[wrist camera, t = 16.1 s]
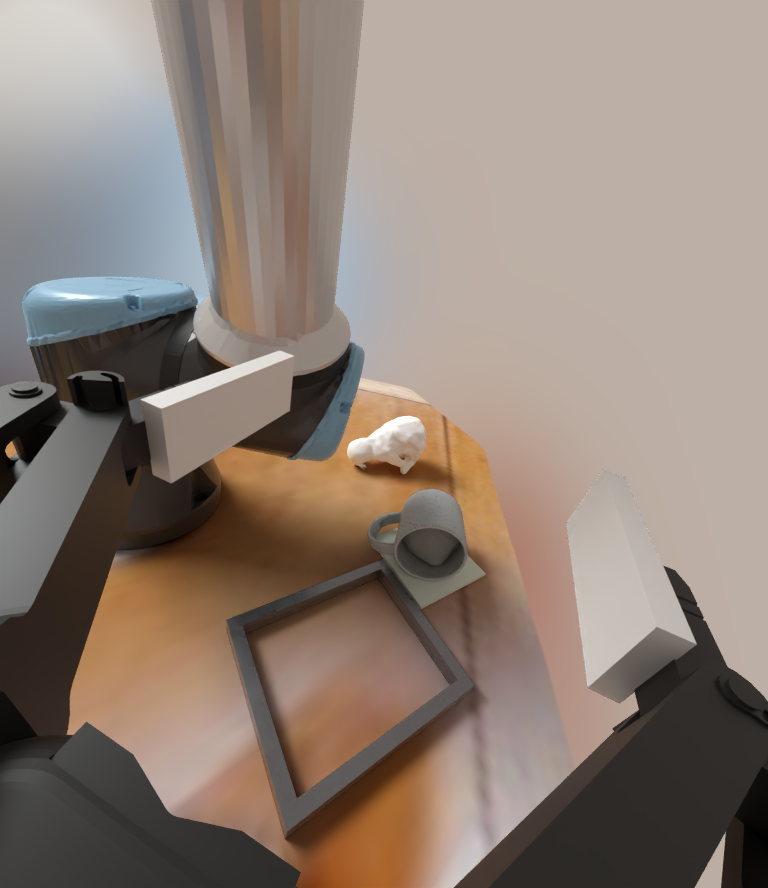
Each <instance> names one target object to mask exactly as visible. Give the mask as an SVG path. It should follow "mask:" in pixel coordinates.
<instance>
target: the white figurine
mask: <svg viewBox="0 0 768 888" xmlns="http://www.w3.org/2000/svg"><path fill="white" fill-rule="evenodd" d="M425 440H426V430H425V427H424V426H423V424H422V422H421V421H420V420H419V419H418V418H416V417H412V416H403V417H399V418H396V419H394V420H392V421H389V422H387V423H385V424H384V425H383V426H382V427H381V428H380V429H378V430H376V431H375V432H373V433H372V435H370V436H369V437H368V438H360V439H357V440H354V441H352V442H351V443H350V444H349V446H348V450H347V455H348V458H349V459H350V460H351V461H352V462H353V464H354V465H357V466H359V467H361V468H362V467H366V464H365V465H362V464H363V463H364V462H366V461H373V460H379V461H381V462H388V463H390V464H392V465H395V466H397V467H400V472H401V474H406V473H407V471H408V470H409V469H410V468H411V467H412V466H413V465H414V464H415V462H417V460H418V459H419V458H420V457H421V455H422V453H423V451H424V450H425V449H426V444H425ZM405 456H406V457H405ZM403 457H405V459H404V460H402V459H401V458H403ZM362 469H364V468H362ZM364 470H365V469H364Z"/></svg>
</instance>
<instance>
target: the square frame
mask: <svg viewBox="0 0 768 888" xmlns="http://www.w3.org/2000/svg"><path fill="white" fill-rule="evenodd" d="M377 578H378V579H379V580H380V582H381V583H382V585H383V586H384V588H385V589H386V591H387V592H388V594H389V595H390V597H391V598H392V600H393V601H394V603H395V604H396V606H397V607H398V609H399V610H400V612H401V613H402V614H403V616H404V617H405V619H406V620H407V622H408V623H409V625H410V626H411V628H412V629H413V631H414V632H415V634H416V635H417V637H418V638H419V640H420V641H421V643H422V644H423V646H424V647H425V649H426V650H427V652H428V653H429V655H430V656H431V658H432V659H433V661H434V662H435V664H436V665H437V667H438V668H439V670H440V671H441V672H442V674H443V675H444V677H445V678H446V680H447V681H448V683H449V684H450V686H449V687H447V688H446V689H445V690H443V691H442V692H441V693H439V694H438V695H437V696H435V697H434V698H433V699H431V700H430V701H429V702H427V703H426V704H424V705H423V706H422V707H420V708H419V709H418V710H416V711H415V712H414V713H412V714H411V715H410V716H408V717H407V718H405V719H404V720H403V721H401V722H400V723H399V724H397V725H396V726H395V727H393V728H392V729H391V730H389V731H388V732H387V733H385V734H384V735H382V736H381V737H380V738H378V739H377V740H376V741H374V742H373V743H372V744H370V745H369V746H368V747H366V748H365V749H363V750H362V751H361V752H359V753H358V754H357V755H355V756H354V757H353V758H351V759H350V760H349V761H347V762H346V763H345V764H343V765H342V766H340V767H339V768H338V769H336V770H335V771H334V772H332V773H331V774H330V775H328V776H327V777H326V778H324V779H323V780H321V781H320V782H319V783H317V784H316V785H315V786H313V787H312V788H311V789H309V790H308V791H307V792H305V793H304V794H302V795H301V796H300V797H298V798H297V797H296V794H295V791H294V787H293V784H292V781H291V778H290V775H289V772H288V768H287V765H286V762H285V759H284V756H283V753H282V749H281V746H280V743H279V740H278V737H277V734H276V730H275V727H274V724H273V721H272V718H271V714H270V711H269V708H268V705H267V702H266V699H265V695H264V692H263V689H262V686H261V683H260V680H259V676H258V673H257V670H256V667H255V664H254V660H253V657H252V654H251V651H250V648H249V645H248V641H247V638H246V635H245V634H247V633H249V632H251V631H254V630H256V629H258V628H261V627H263V626H265V625H268V624H270V623H273V622H275V621H277V620H280V619H282V618H284V617H287V616H289V615H292V614H294V613H296V612H299V611H301V610H303V609H306V608H308V607H311V606H313V605H315V604H318V603H320V602H322V601H325V600H327V599H329V598H332V597H334V596H337V595H339V594H341V593H344V592H346V591H348V590H351V589H353V588H356V587H358V586H360V585H363V584H365V583H367V582H370V581H372V580H374V579H377ZM227 633H228V637H229V640H230V644H231V647H232V651H233V654H234V658H235V662H236V665H237V669H238V672H239V676H240V680H241V683H242V687H243V690H244V694H245V698H246V701H247V705H248V708H249V712H250V716H251V719H252V723H253V726H254V730H255V733H256V737H257V741H258V744H259V748H260V751H261V755H262V759H263V762H264V766H265V769H266V773H267V777H268V780H269V784H270V787H271V791H272V794H273V798H274V802H275V805H276V809H277V812H278V816H279V820H280V823H281V827H282V830H283V834H284V838H287V837H288V836H289V835H290V834H292V833H293V832H294V831H296V830H297V829H298V828H299V827H301V826H302V825H303V824H304V823H306V822H307V821H308V820H309V819H311V818H312V817H313V816H314V815H316V814H317V813H318V812H320V811H321V810H322V809H323V808H325V807H326V806H327V805H328V804H330V803H331V802H332V801H333V800H335V799H336V798H337V797H339V796H340V795H341V794H342V793H344V792H345V791H346V790H347V789H349V788H350V787H351V786H352V785H354V784H355V783H356V782H358V781H359V780H360V779H361V778H363V777H364V776H365V775H366V774H368V773H369V772H370V771H371V770H373V769H374V768H375V767H377V766H378V765H379V764H380V763H382V762H383V761H384V760H385V759H387V758H388V757H389V756H390V755H392V754H393V753H394V752H395V751H397V750H398V749H399V748H401V747H402V746H403V745H404V744H406V743H407V742H408V741H409V740H411V739H412V738H413V737H414V736H416V735H417V734H418V733H420V732H421V731H422V730H423V729H425V728H426V727H427V726H428V725H430V724H431V723H432V722H433V721H435V720H436V719H437V718H439V717H440V716H441V715H442V714H444V713H445V712H446V711H447V710H449V709H450V708H451V707H452V706H454V705H455V704H456V703H457V702H459V701H460V700H461V699H463V698H464V697H465V696H466V695H468V694H469V692H470V691H471V690H472V688H473V687H474V684H473V683H472V681H471V680H470V678H469V677H468V676H467V674H466V673H465V671H464V670H463V669H462V667H461V666H460V664H459V663H458V662H457V660H456V659H455V658H454V656H453V655H452V653H451V652H450V651H449V649H448V648H447V646H446V645H445V644H444V642H443V641H442V639H441V638H440V637H439V635H438V634H437V632H436V631H435V630H434V628H433V627H432V625H431V624H430V623H429V621H428V620H427V619H426V617H425V616H424V614H423V613H422V612H421V610H420V609H419V607H418V606H417V605H416V603H415V602H414V600H413V599H412V598H411V596H410V595H409V593H408V592H407V591H406V589H405V588H404V587H403V585H402V584H401V582H400V581H399V580H398V578H397V577H396V575H395V574H394V573H393V571H392V570H391V568H390V567H389V566H388V564H387V563H386V561H385V560H384V559H382V560H379V561H377V562H374V563H371V564H369V565H366V566H364V567H361V568H359V569H356V570H353V571H351V572H348V573H346V574H343V575H341V576H338V577H335V578H333V579H330V580H328V581H325V582H323V583H320V584H317V585H315V586H312V587H310V588H307V589H305V590H302V591H299V592H297V593H294V594H292V595H289V596H287V597H284V598H281V599H279V600H276V601H274V602H271V603H269V604H266V605H263V606H261V607H258V608H256V609H253V610H251V611H248V612H245V613H243V614H240V615H238V616H235V617H232V618H230V619H227Z"/></svg>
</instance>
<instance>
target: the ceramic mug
mask: <svg viewBox="0 0 768 888" xmlns="http://www.w3.org/2000/svg"><path fill="white" fill-rule="evenodd" d="M392 523H399V527H398V530H397V535H396V539H395V542H394V543H386V542H381V541H378V540H376V539H375V538H376V535H377V533H378V532H379V531H380V528H382V527H383V526H386V525H388V524H392ZM368 538H369V542H370V545H371V547H372V548H373V549H374V550H375V551H377V552H379V553H382V554H387V555H394V557H395V560H396V562H397V564H398V565H399V566H400V567H401V569H403V570H404V571H405V572H406V573H408V574H410V575H411V576H413V577H416V578H418V579H422V580H427V581H439V580H445V579H448V578H450V577H452V576H454V575H455V574H457V573H458V572H459V571H460V570H461V569H462V568H463V567H464V565H465V563H466V560H467V556H468V550H467V543H466V536H465V529H464V523H463V515H462V511H461V509H460V506H459V504H458V502H457V501H456V499H455V498H454V497H453V496H452V495H450V494H449V493H447V492H445V491H443V490H440V489H435V488H428V489H422V490H419V491H417V492H415V493H414V494H412V495H411V496H410V497H409V498H408V500H407V501H406V503H405V505H404V507H403V510H402V512H394V513H388V514H384V515H382V516H380V517H378V518H377V519H376V520H374V521H373V522H372V524H371V525H370V527H369V530H368Z"/></svg>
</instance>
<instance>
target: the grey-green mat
mask: <svg viewBox="0 0 768 888" xmlns="http://www.w3.org/2000/svg"><path fill="white" fill-rule="evenodd" d="M397 530H398V528H396V529H393V530H390V531H388V532H385V533H382V534H379V535H376V538H375V539H376V540H378V541H381V542H386V543H394V542H395V539H396V535H397ZM380 555H381V556H382V557H383V559H384V560H385V561H386V563H387V564H388V566H389V567H390V568H391V570H392V571H393V573H394V574H395V575H396V577H397V578H398V580H399V581H400V582H401V584H402V585H403V587H404V588H405V589H406V591H407V592H408V593H409V595H410V596H411V598H412V599H413V600H414V602H415V603H416V605H417V606H418V607H419V609H420V610H421V609H423V608H425V607H426V606H428V605H430V604H432V603H434V602H436V601H438V600H440V599H442V598H443V597H445V596H447V595H449V594H451V593H453V592H455V591H457V590H459V589H461V588H462V587H464V586H466V585H468V584H470V583H472V582H474V581H476V580H478V579H479V578H481V577H483V576H485V573H484V571H483V570H482V569H481V568H480V567H479V566H478V565H477V564H476V563H475V562H474V561H473V560H472V559H471V558H470V557H469V555H468V556H467V560H466V563H465V565H464V567H463V568H462V569H461V570H460V571H459V572H458V573H457V574H455V575H454V576H452V577H450V578H448V579H445V580H439V581H427V580H422V579H418V578H416V577H413V576H411V575H410V574H408V573H406V572H405V571H404V570H403V569H401V567H400V566H399V565H398V564H397V562H396V560H395V557H394V555H387V554H382V553H380Z"/></svg>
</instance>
